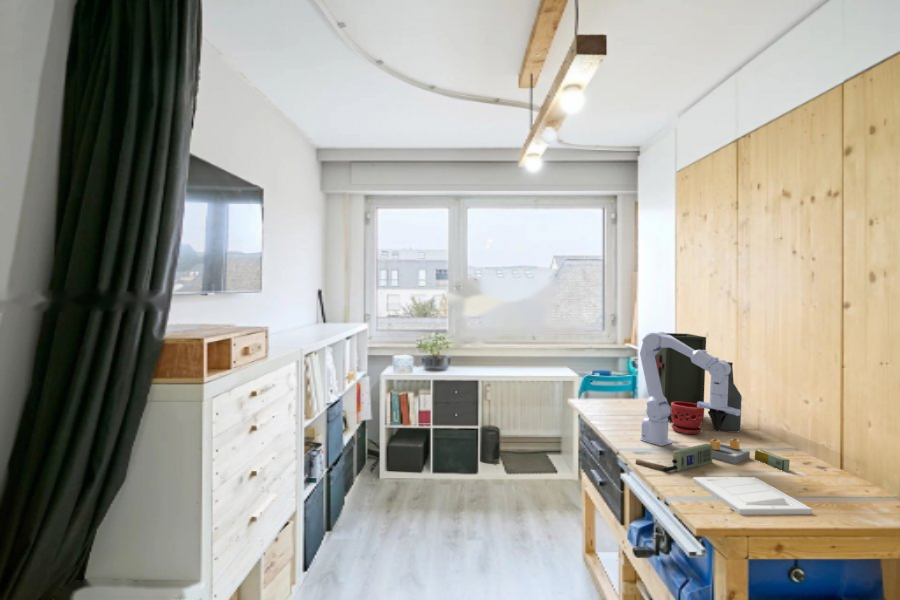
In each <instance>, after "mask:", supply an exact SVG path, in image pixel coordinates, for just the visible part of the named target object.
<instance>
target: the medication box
mask: <svg viewBox="0 0 900 600" xmlns="http://www.w3.org/2000/svg"><path fill="white" fill-rule="evenodd" d="M754 460H755V461H757V462H759V461H760V462H759V463H762V464H764V463H765V464H764V465H766V464H767V465H766V466H769V465H770V466H769V467H771V466H772V468H773V469H774V468H775V469H776V468H777V470H779V471H781V470H782V472H789V471H790V459H787V458H785V457H783V456H780V455H777V454H774V453H771V452H768V451H765V450H763V449H754ZM788 470H789V471H788Z"/></svg>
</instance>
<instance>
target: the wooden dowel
mask: <svg viewBox="0 0 900 600" xmlns="http://www.w3.org/2000/svg"><path fill="white" fill-rule="evenodd" d="M635 464H636V465H639V466H643V467H647V468H650V469H654V470H656V471H657V470H658V471H662V472H664V470H663V469H664V468H667V467H668V466H666V465H663V464H662V465H661V464H658V463H655V462H650V461H647V460H643V459H639V458H636V459H635Z"/></svg>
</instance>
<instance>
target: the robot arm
mask: <svg viewBox="0 0 900 600" xmlns="http://www.w3.org/2000/svg"><path fill="white" fill-rule="evenodd" d="M666 333H667V332H664V331H659V332H648V333H647V334H646V335H645V336H644V337H643V339H642V345H641V347H640V351H639V355H640V356H639V357H640V360H641V365H642V371H643V375H644V376H643V377H644V380H645V384H646V389H647V395H648V398H647V400H646V406H647V407H646V410H645V412H646V413H645V414H646V416H647V417H644V418H643V420H642V422H641V432H640V433H641V437H640V439H639V440H640V441H643V442H646V443H650V444H652V445H656V446H660V447H663V446H667V445H670V444H673V441H670V440H668V439H669V436H668V435H669V421H668V417H669V416H670V414H671V407H670V406H669V404H668V403H667V399H666V398H665V397H664V396H663V393H662V388H661V383H660V379H659V374H658V369H657V365H656V360H655V355H656V354H657V353H658V352H659V351H660V350H661V349H662V348H672V349H674V350H676V351H678V352H680V353H682V354H684V355H686V356H688V357H690V359H691V361H692V363H694V364H696V365H698V366H699V367H701V368H703V369H705V372H708V373H709V375H710V388H709V389H710V390H709V402H707V401H706V402H705V401H704V402H697V407H701V408H704V409H706V410H708V411H707V414H708V416H709V418H710V420H711V423H712V427H713V431H714V432H720V431H722V430H721V426H722V424H723V421H724V420H725V418H726V416H727V415H728V413H729V414H734V415H736V416H739V415H740V411H741V412H742V409H741V410H739V409H735V408H732V407H728V406H727V401H728V376H727V375H729V374H730V372H731V366H730V365H729V364H728V363H727V362H728V361H726V360H723V359H722V360H720V358H719V357H718V356H716V357H715V356H713V355H712V354H709V353H708V351H707V350H706V351H705V350H696V351H695V350H694V349H692V348H690V347H689V346H687V345H685V344H684V343H682V342H680V341H679V340H677V339H676V338H674V337H672V336H671V335H667V334H666Z"/></svg>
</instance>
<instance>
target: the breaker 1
mask: <svg viewBox="0 0 900 600" xmlns="http://www.w3.org/2000/svg"><path fill="white" fill-rule="evenodd" d="M709 444H712V449H715V450H718V449H720V444H721V441H720V440H718V438H713V439H710V441H709Z"/></svg>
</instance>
